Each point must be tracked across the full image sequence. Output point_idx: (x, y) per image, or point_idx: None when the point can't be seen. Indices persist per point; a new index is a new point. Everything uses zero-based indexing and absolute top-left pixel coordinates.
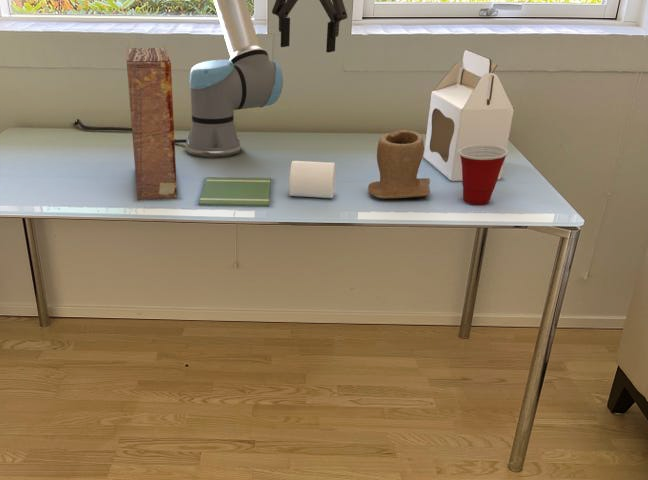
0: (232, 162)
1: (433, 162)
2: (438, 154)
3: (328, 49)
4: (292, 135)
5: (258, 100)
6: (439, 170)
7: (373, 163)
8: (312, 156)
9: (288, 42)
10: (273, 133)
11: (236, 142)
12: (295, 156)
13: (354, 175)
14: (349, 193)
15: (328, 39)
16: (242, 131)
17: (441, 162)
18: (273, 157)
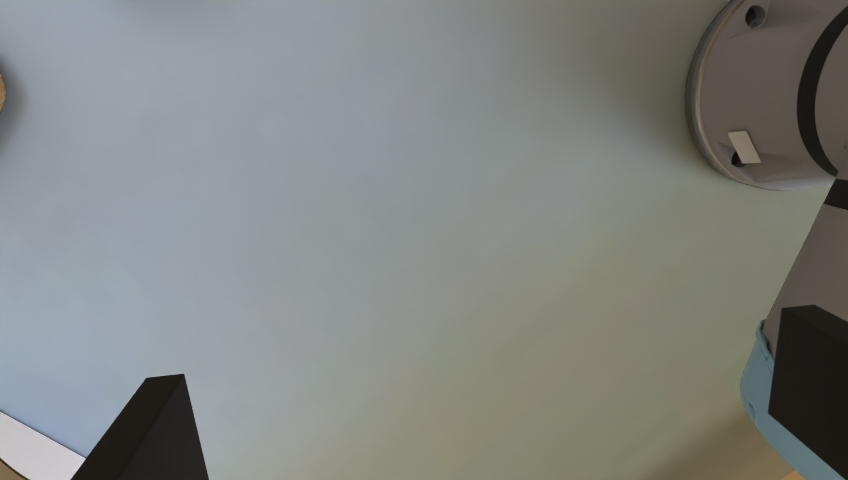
0: (635, 14)
1: None
2: (34, 477)
3: (142, 396)
4: (669, 425)
5: (788, 280)
6: (36, 432)
7: (251, 358)
8: (458, 282)
9: (797, 421)
10: (735, 401)
11: (716, 119)
12: (503, 241)
13: (196, 204)
14: (46, 9)
15: (91, 473)
16: None
17: (9, 446)
18: (556, 177)
